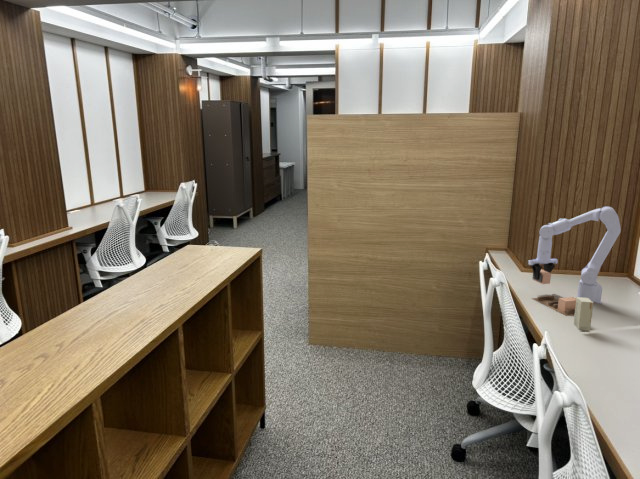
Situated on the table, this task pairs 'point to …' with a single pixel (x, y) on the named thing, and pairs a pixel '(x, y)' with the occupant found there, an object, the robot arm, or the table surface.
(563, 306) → the pink block
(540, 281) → the peach rectangular block
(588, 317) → the skincare box
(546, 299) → the walnut rack
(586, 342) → the table surface
